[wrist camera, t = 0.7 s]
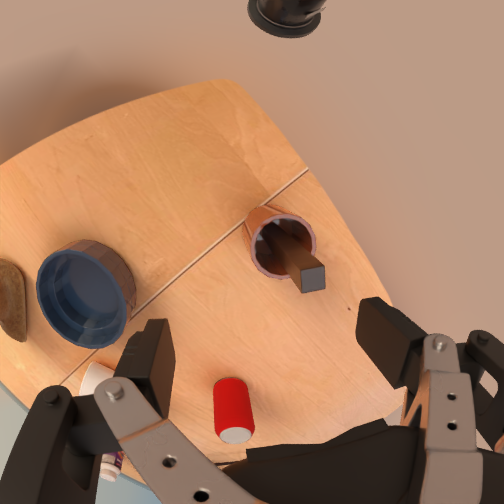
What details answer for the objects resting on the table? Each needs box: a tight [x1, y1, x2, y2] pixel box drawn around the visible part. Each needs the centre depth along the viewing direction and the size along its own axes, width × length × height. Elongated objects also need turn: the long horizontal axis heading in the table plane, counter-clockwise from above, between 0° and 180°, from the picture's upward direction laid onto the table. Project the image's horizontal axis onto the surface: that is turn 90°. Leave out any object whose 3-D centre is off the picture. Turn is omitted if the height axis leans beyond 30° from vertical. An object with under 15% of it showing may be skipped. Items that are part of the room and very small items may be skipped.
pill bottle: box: [100, 451, 124, 482], centre depth 44 cm, size 5×5×10 cm
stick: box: [262, 224, 325, 293], centre depth 30 cm, size 2×2×18 cm
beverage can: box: [213, 377, 255, 444], centre depth 40 cm, size 6×6×12 cm
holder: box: [242, 204, 316, 280], centre depth 34 cm, size 7×7×9 cm
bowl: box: [36, 240, 136, 349], centre depth 35 cm, size 15×15×6 cm
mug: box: [79, 361, 115, 396], centre depth 39 cm, size 12×10×8 cm
